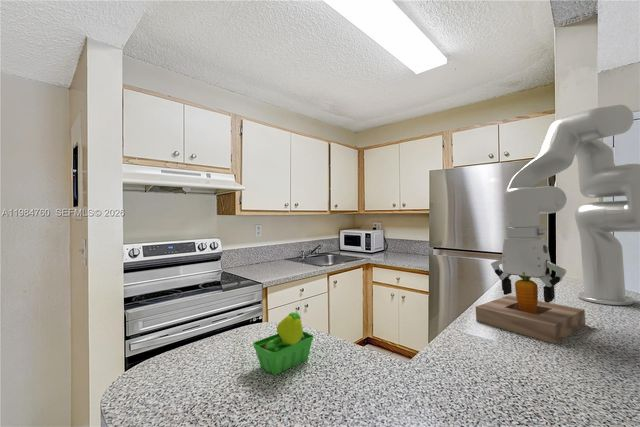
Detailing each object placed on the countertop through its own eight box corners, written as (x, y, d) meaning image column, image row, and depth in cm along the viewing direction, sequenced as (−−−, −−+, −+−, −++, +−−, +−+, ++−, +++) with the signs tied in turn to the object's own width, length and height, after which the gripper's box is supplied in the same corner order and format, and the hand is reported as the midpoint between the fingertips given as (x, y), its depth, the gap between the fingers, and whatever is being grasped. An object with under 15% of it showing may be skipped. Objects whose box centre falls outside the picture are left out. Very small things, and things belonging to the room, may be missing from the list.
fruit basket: (294, 348, 68) (292, 300, 68) (320, 360, 61) (317, 307, 62) (252, 367, 60) (249, 313, 60) (277, 383, 54) (274, 322, 54)
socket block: (509, 308, 89) (508, 295, 89) (585, 325, 73) (584, 309, 73) (476, 321, 79) (475, 306, 79) (555, 343, 64) (554, 325, 64)
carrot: (544, 325, 74) (541, 268, 74) (525, 327, 74) (522, 269, 74) (530, 318, 79) (527, 264, 79) (512, 319, 79) (509, 265, 79)
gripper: (569, 233, 71) (573, 302, 71) (496, 232, 86) (500, 289, 86) (556, 235, 67) (561, 308, 67) (483, 233, 82) (486, 293, 82)
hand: (527, 297), depth 76 cm, fingers open, 9 cm apart
